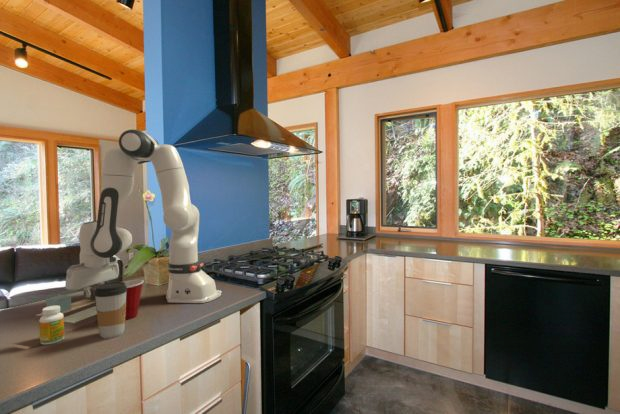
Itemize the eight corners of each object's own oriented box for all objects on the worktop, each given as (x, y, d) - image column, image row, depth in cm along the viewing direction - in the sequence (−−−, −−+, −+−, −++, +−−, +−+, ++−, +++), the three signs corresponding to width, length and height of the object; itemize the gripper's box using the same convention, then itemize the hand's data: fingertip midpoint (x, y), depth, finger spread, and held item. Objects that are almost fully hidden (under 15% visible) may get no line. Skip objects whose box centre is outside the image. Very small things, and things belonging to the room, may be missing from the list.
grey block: (126, 304, 119) (125, 292, 119) (74, 324, 100) (73, 310, 100) (109, 302, 121) (109, 290, 121) (56, 322, 102) (55, 308, 102)
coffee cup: (123, 338, 90) (122, 287, 90) (90, 342, 88) (89, 290, 88) (131, 326, 98) (130, 280, 98) (101, 330, 96) (100, 282, 96)
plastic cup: (122, 310, 112) (121, 278, 112) (150, 311, 112) (150, 278, 112) (100, 323, 101) (99, 287, 101) (132, 323, 101) (131, 287, 101)
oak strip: (105, 300, 124) (105, 288, 124) (52, 319, 105) (51, 305, 105) (90, 298, 126) (90, 287, 126) (35, 316, 107) (34, 303, 107)
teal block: (71, 309, 112) (70, 295, 112) (56, 314, 108) (56, 300, 107) (61, 308, 114) (60, 294, 114) (46, 312, 109) (45, 299, 109)
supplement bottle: (50, 346, 86) (49, 311, 86) (35, 344, 87) (33, 310, 87) (69, 337, 91) (68, 305, 91) (54, 335, 92) (53, 303, 92)
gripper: (73, 267, 112) (74, 304, 113) (121, 256, 132) (122, 288, 132) (60, 266, 114) (61, 303, 114) (109, 255, 134) (110, 287, 134)
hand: (94, 295), depth 124 cm, fingers closed on oak strip, 2 cm apart
